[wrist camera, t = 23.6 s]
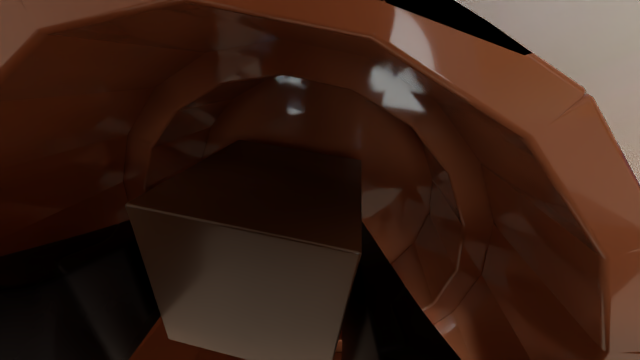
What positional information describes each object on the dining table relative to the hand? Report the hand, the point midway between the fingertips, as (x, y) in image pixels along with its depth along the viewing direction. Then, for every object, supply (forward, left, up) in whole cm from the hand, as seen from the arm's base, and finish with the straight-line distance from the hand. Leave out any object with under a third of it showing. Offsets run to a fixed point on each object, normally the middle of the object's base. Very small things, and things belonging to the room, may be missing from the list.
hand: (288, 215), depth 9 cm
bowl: (+1, 0, -2) cm, 2 cm away
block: (0, 0, -1) cm, 1 cm away
